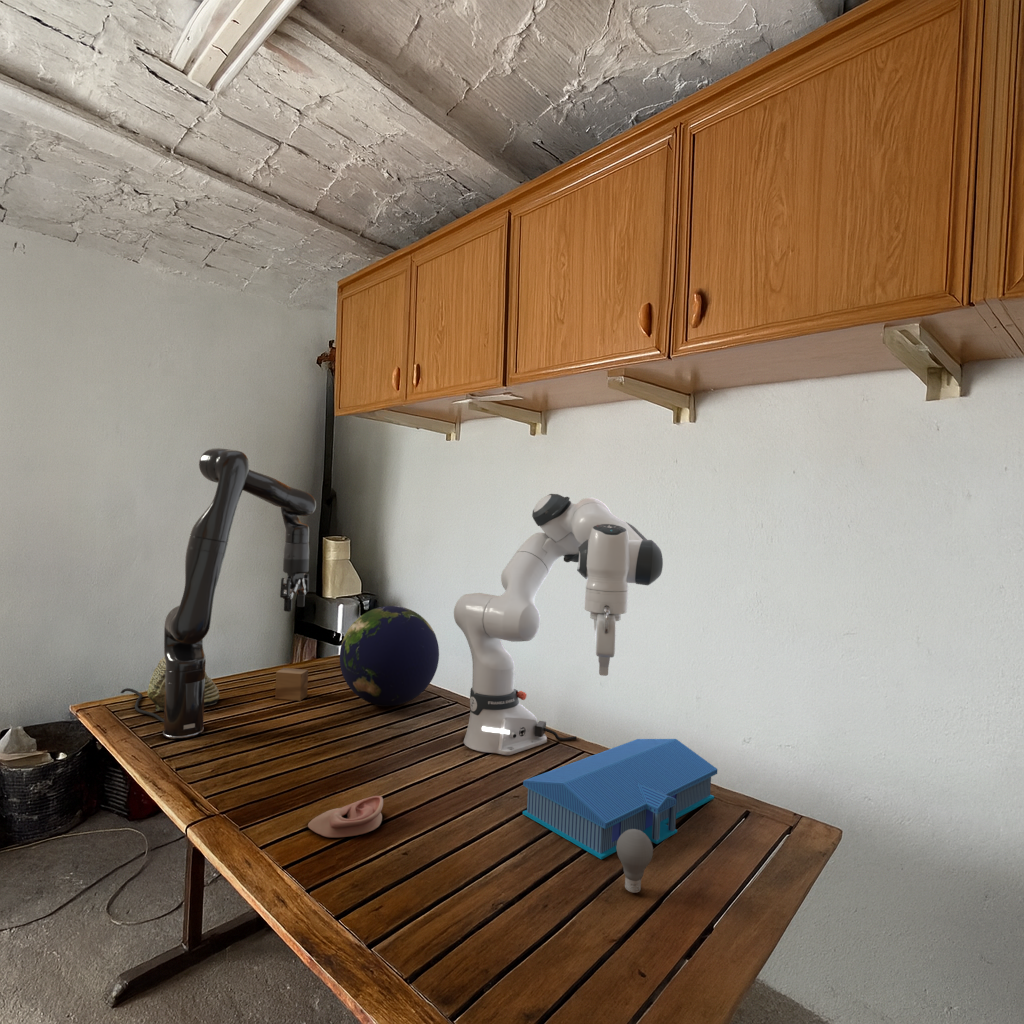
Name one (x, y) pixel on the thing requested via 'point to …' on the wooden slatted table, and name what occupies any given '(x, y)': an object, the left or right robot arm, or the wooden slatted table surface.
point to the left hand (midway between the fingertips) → (294, 609)
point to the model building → (621, 793)
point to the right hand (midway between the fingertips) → (602, 668)
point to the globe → (389, 655)
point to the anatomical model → (349, 819)
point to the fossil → (158, 687)
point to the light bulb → (634, 857)
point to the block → (291, 684)
